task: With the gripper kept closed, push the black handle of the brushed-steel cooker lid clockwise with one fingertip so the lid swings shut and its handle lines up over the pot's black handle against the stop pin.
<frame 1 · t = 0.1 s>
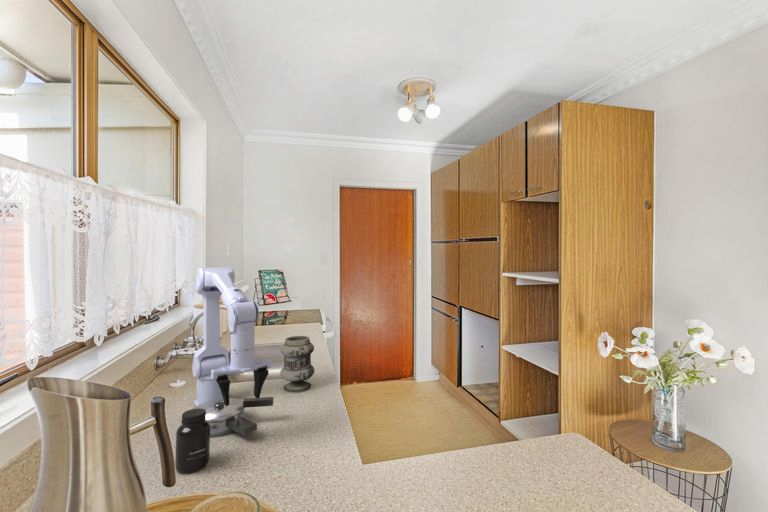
hand: (242, 400, 91), 10 cm above the countertop, fingers open, 7 cm apart
lid: (233, 405, 99), point 5 cm above the countertop, hinge at 60.0°
pot: (219, 425, 98), on the countertop
apothecary jar: (297, 388, 127), on the countertop
supplement bottle: (192, 466, 79), on the countertop
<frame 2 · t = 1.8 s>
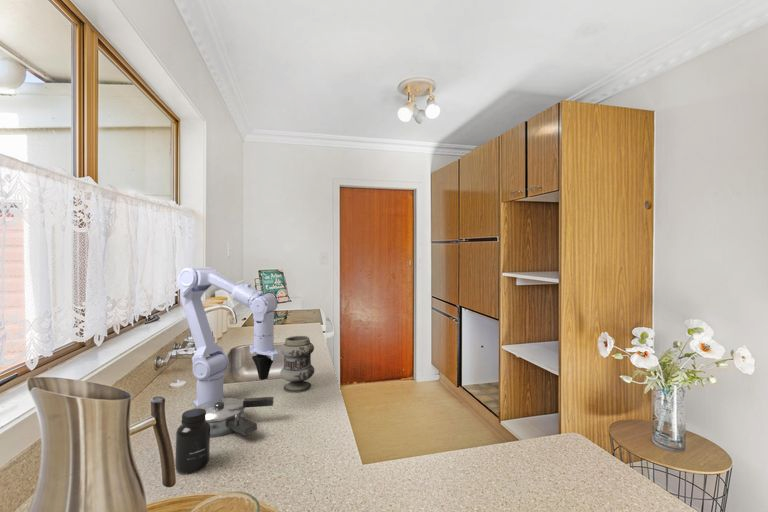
hand: (263, 378, 107), 10 cm above the countertop, fingers closed
nothing on the countertop moved.
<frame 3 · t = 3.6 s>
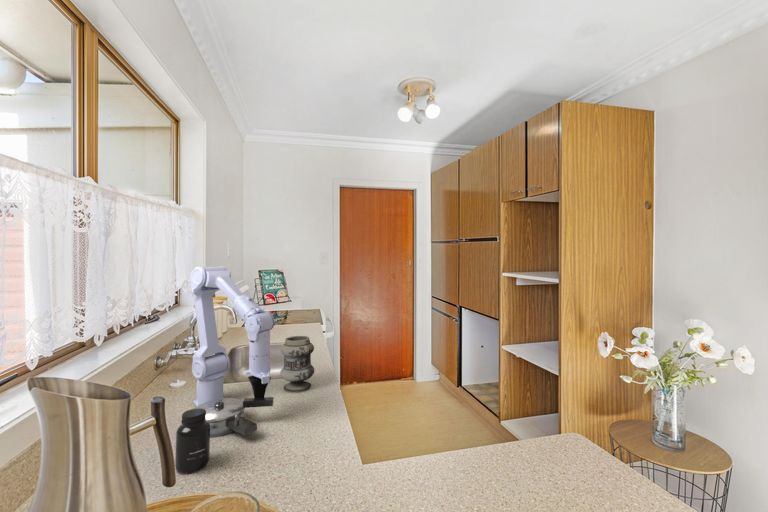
hand: (259, 400, 102), 5 cm above the countertop, fingers closed
lid: (233, 405, 98), point 5 cm above the countertop, hinge at 59.2°, touching gripper
everything else where it was.
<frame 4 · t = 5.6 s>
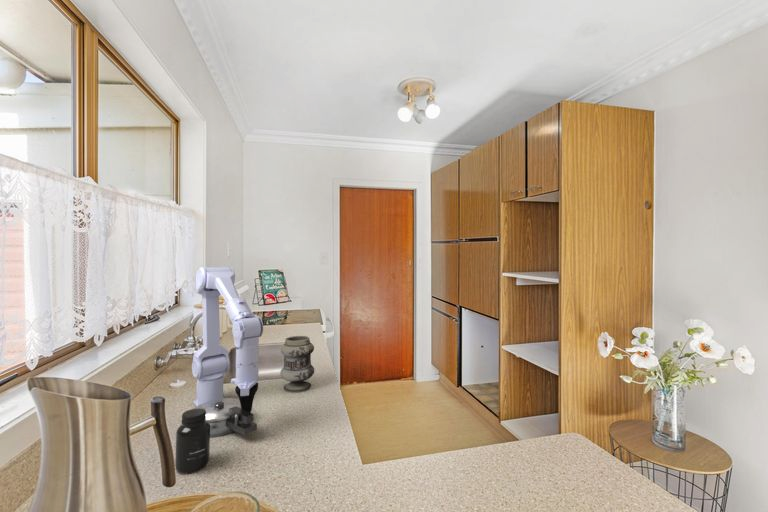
hand: (246, 412, 94), 5 cm above the countertop, fingers closed
lid: (226, 409, 96), point 5 cm above the countertop, hinge at 14.0°, touching gripper, pot
everything else where it was.
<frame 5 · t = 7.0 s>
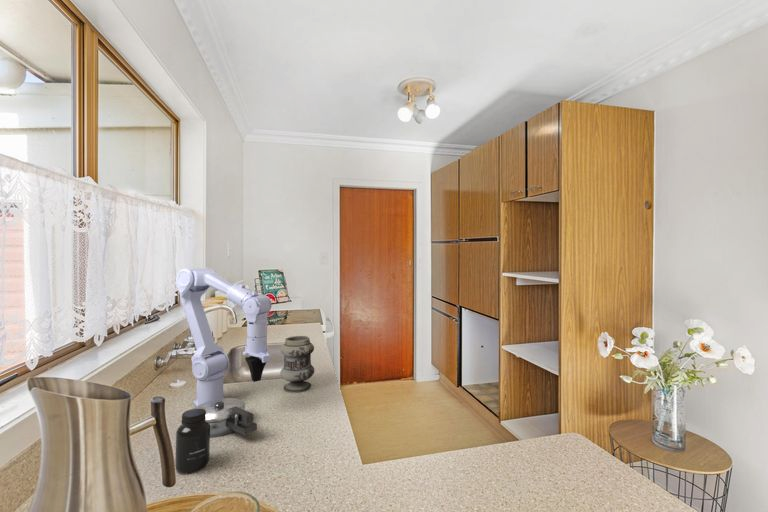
hand: (256, 380, 106), 10 cm above the countertop, fingers closed
lid: (226, 409, 96), point 5 cm above the countertop, hinge at 14.0°
everything else where it was.
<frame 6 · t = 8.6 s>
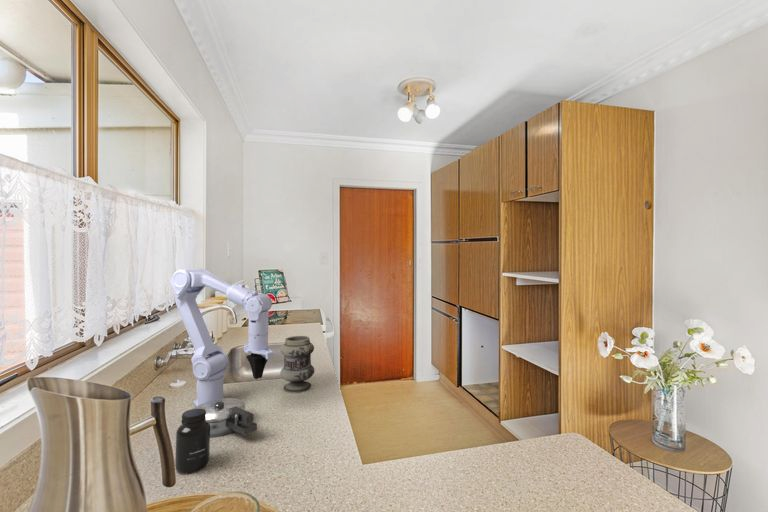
hand: (257, 377, 108), 10 cm above the countertop, fingers closed
nothing on the countertop moved.
at the end: lid at +14° (first picture: +60°) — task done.
